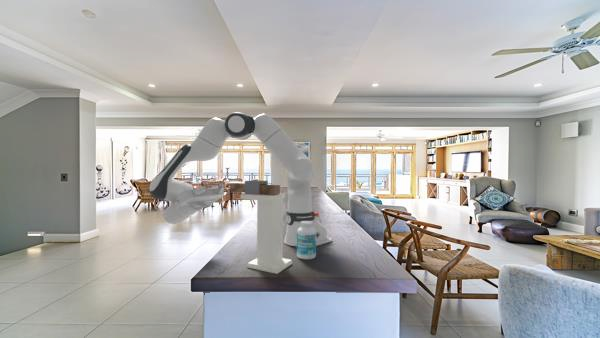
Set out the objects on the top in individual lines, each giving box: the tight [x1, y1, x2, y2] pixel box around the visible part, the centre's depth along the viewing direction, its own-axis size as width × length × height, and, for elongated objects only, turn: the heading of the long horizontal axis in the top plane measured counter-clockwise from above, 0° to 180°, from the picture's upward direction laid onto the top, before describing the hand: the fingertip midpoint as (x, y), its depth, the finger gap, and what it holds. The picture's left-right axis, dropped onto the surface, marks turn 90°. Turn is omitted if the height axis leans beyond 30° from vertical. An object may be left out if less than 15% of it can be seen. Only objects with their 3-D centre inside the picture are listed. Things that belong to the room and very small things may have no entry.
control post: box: [240, 179, 293, 275], centre depth 96 cm, size 15×10×30 cm, turn 63°
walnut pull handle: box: [229, 182, 281, 195], centre depth 98 cm, size 20×3×3 cm, turn 63°
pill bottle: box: [296, 221, 317, 260], centre depth 105 cm, size 8×7×14 cm
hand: (214, 186), depth 107 cm, fingers open, 8 cm apart
